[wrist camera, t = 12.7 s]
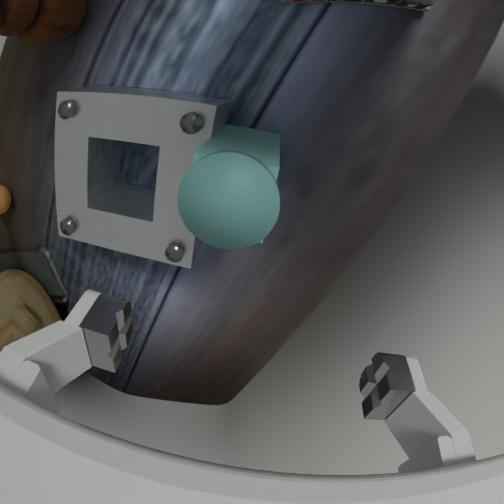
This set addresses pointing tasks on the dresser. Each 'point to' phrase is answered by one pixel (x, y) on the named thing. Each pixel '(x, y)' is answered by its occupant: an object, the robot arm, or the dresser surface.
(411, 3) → the cassette tape recorder
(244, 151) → the cover plug
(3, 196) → the figurine
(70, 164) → the housing
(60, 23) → the wooden figurine
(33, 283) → the ceramic vessel
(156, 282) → the dresser surface
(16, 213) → the dresser surface
